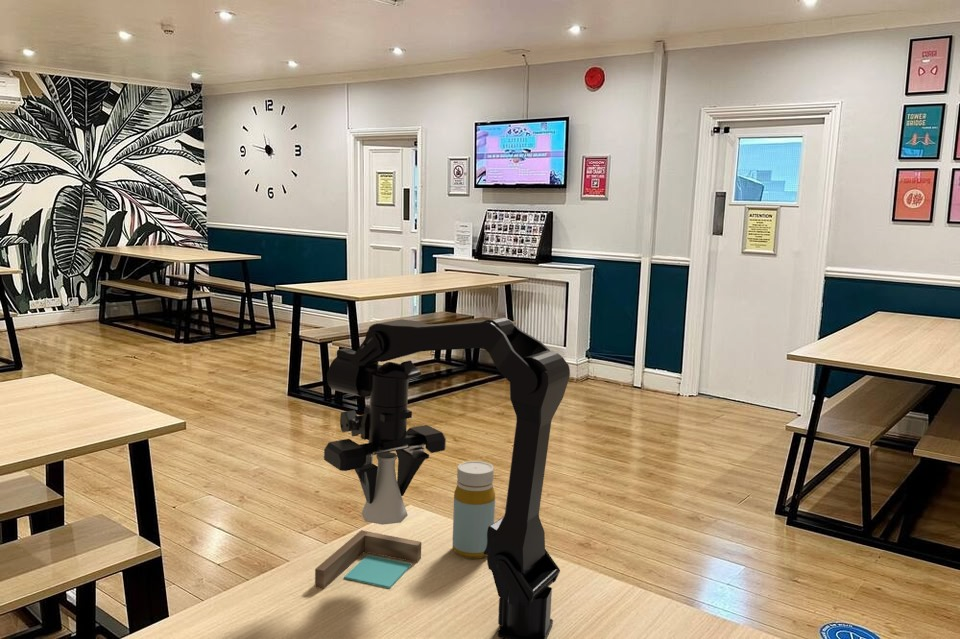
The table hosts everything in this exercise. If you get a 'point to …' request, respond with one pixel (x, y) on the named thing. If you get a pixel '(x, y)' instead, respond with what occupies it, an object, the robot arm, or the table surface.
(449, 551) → the table surface
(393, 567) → the pad
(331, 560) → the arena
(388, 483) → the flask
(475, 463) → the bottle
